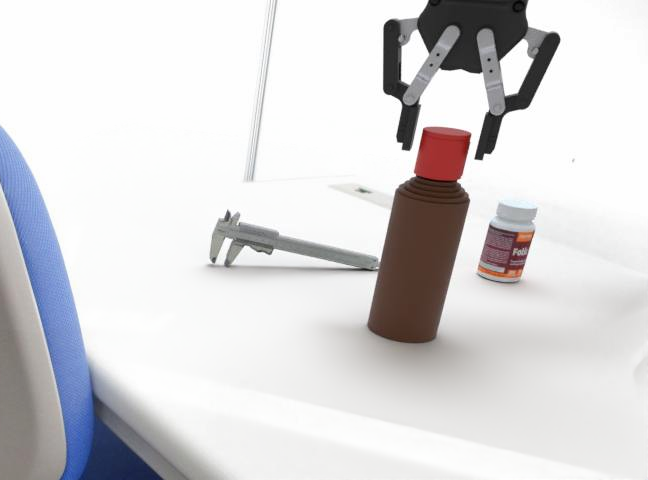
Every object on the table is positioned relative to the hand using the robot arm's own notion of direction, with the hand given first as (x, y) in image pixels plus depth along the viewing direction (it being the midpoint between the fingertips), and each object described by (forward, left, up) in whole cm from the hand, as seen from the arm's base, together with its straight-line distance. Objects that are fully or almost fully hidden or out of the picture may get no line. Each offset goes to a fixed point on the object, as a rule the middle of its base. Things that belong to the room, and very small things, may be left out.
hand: (442, 153), depth 76 cm
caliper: (+13, -13, -17) cm, 25 cm away
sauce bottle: (0, 0, -17) cm, 17 cm away
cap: (0, 0, -2) cm, 2 cm away
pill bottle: (-8, -23, -17) cm, 30 cm away
